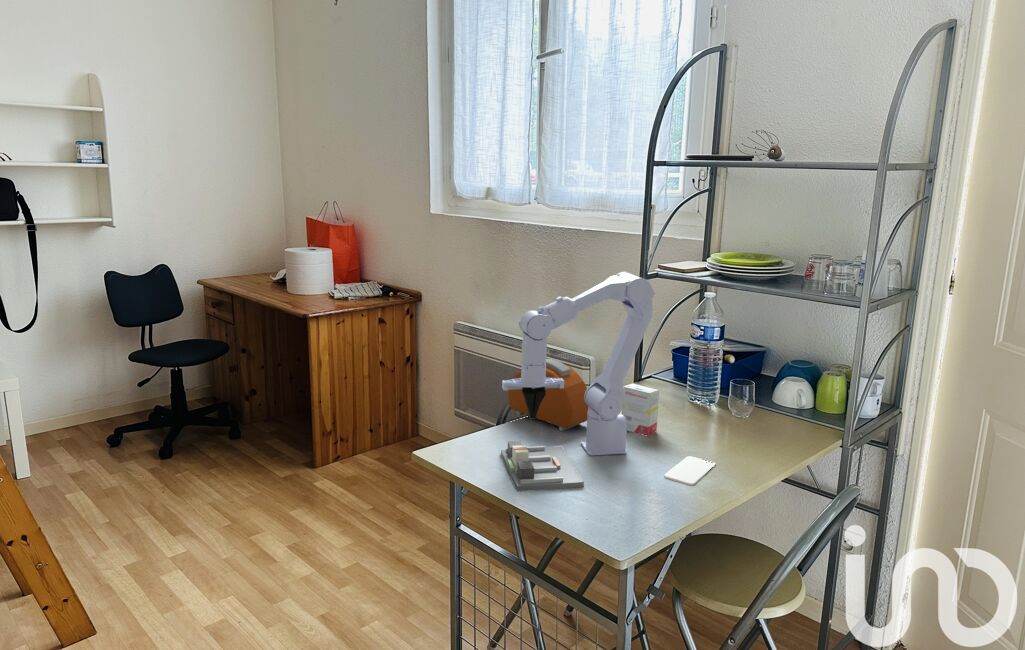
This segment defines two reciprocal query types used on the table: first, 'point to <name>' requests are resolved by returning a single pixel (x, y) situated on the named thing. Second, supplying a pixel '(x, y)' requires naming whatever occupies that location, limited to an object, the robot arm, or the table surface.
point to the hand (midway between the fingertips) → (532, 417)
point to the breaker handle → (519, 454)
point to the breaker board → (542, 469)
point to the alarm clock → (556, 398)
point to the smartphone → (689, 470)
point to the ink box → (640, 408)
